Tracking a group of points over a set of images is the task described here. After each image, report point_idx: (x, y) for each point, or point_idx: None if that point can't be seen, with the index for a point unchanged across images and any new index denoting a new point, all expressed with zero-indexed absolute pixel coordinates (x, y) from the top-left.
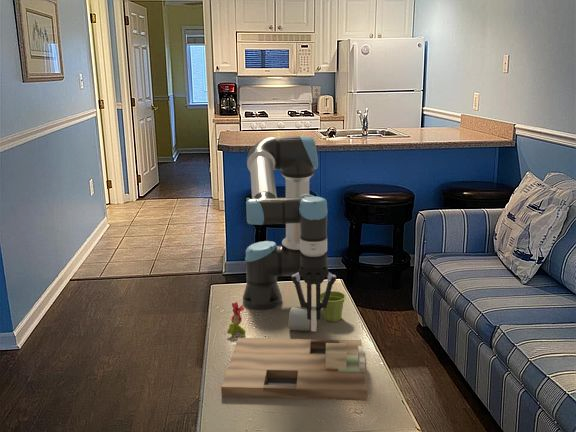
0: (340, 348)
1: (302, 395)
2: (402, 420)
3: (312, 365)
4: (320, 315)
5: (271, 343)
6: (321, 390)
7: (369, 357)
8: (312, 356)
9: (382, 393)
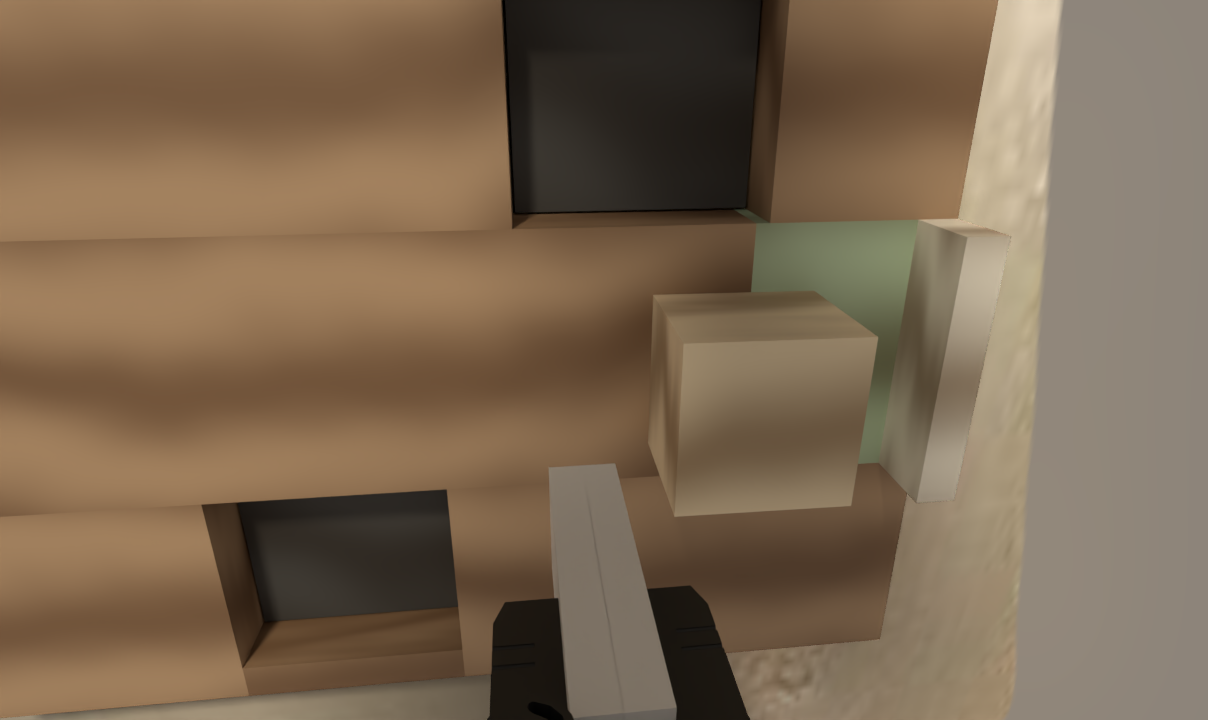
0: (810, 436)
1: None
2: (974, 704)
3: (548, 413)
4: (710, 618)
5: (69, 26)
6: None
7: (987, 97)
8: (539, 278)
9: (947, 528)
